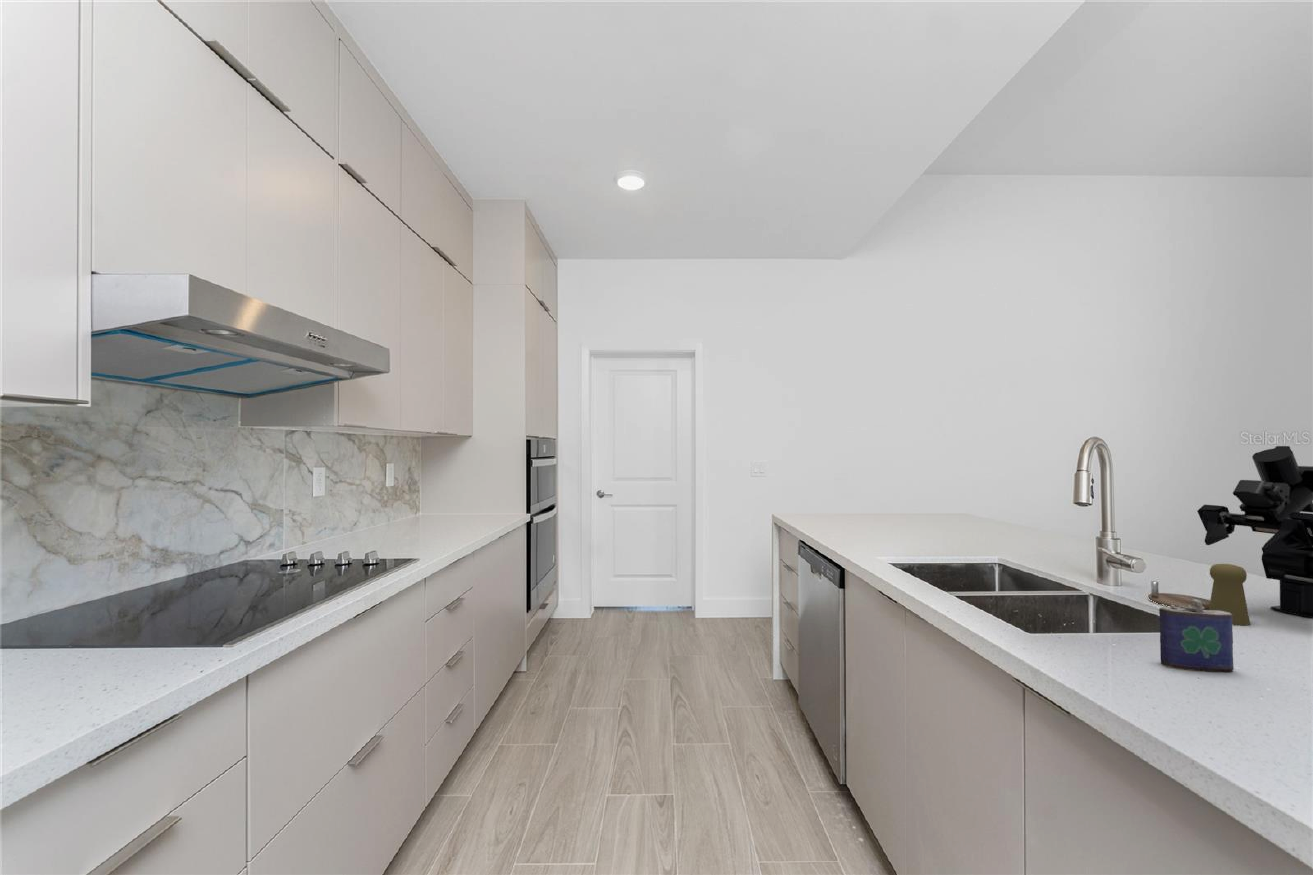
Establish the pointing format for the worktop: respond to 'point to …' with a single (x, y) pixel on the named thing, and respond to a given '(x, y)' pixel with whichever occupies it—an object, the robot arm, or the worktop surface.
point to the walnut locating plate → (1174, 598)
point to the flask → (1196, 638)
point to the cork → (1229, 592)
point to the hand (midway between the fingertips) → (1233, 547)
